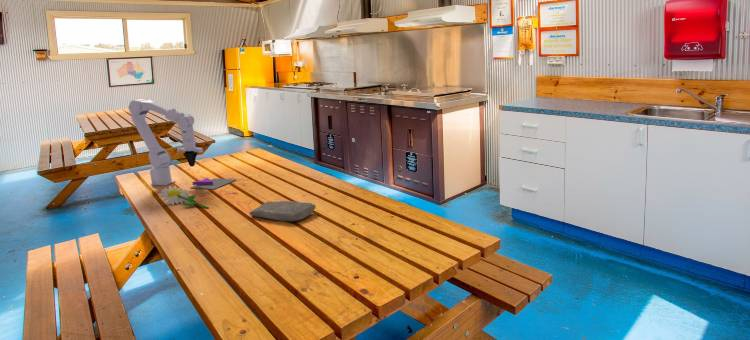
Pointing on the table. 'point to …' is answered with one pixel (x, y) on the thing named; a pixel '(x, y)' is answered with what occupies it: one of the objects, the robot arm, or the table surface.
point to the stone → (284, 210)
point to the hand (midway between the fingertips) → (192, 166)
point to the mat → (214, 184)
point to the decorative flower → (178, 196)
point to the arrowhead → (203, 182)
